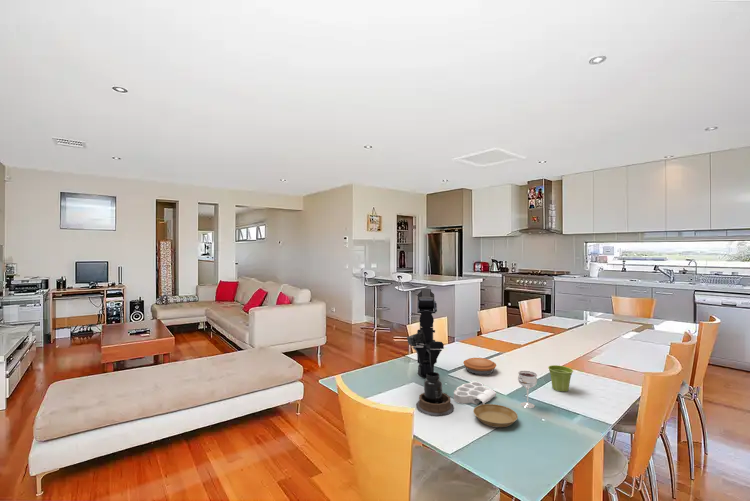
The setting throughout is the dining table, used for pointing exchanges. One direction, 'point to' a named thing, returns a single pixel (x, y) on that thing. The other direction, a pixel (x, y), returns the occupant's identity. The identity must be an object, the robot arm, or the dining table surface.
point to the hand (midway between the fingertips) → (426, 365)
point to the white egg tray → (473, 393)
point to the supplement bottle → (433, 388)
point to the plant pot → (560, 377)
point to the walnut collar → (435, 406)
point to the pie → (479, 365)
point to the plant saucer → (495, 415)
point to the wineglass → (527, 384)
